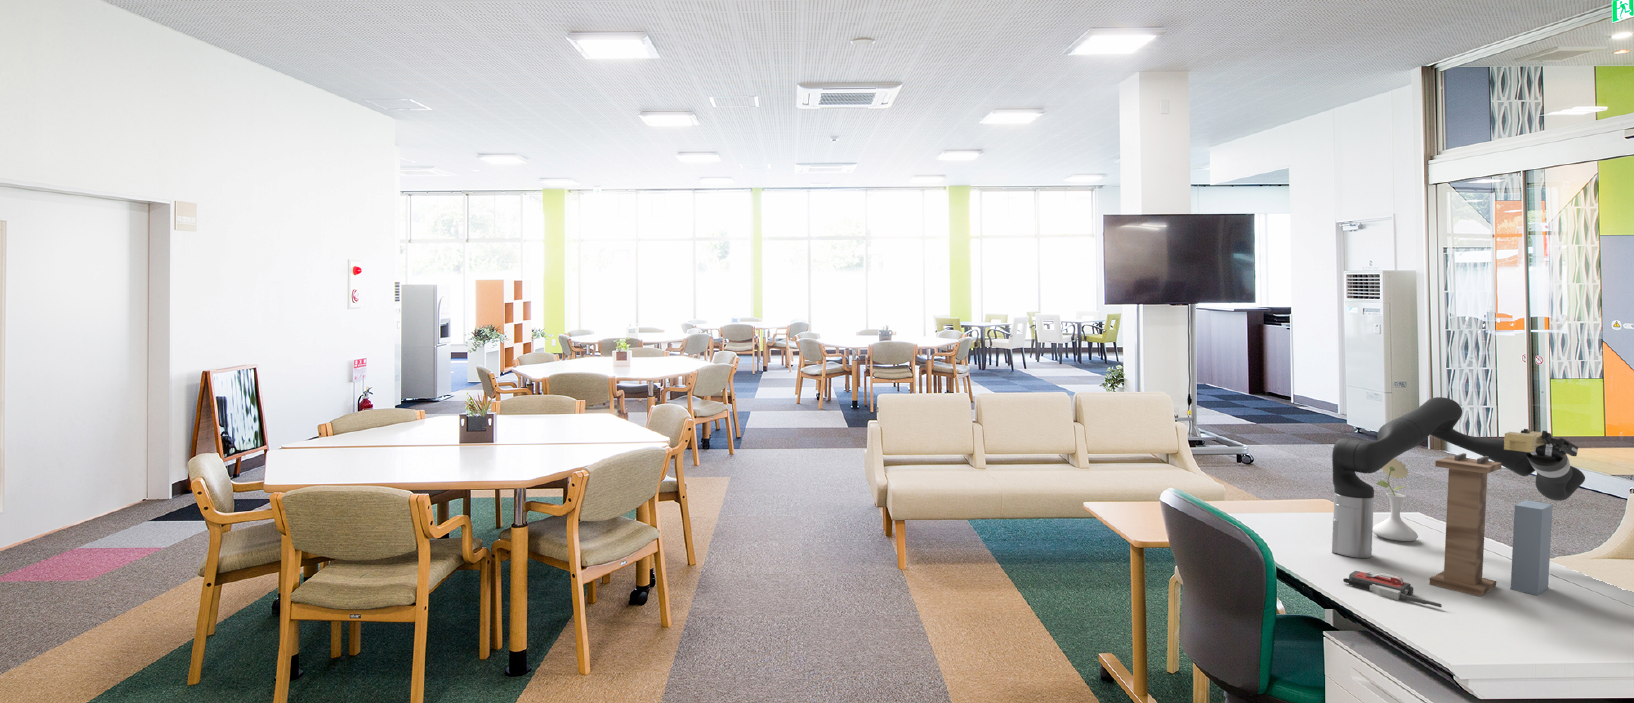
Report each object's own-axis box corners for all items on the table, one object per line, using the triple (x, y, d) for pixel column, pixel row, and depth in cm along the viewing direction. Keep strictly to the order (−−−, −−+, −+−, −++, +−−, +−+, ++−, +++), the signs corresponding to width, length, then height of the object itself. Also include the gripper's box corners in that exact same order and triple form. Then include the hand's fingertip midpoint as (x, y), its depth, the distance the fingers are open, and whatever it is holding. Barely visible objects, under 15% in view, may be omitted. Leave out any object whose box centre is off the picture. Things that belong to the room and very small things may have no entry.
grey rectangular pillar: (1537, 595, 179) (1542, 509, 178) (1510, 588, 183) (1514, 504, 182) (1548, 587, 184) (1552, 504, 183) (1521, 581, 188) (1525, 500, 187)
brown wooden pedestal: (1480, 596, 178) (1486, 462, 176) (1429, 583, 186) (1435, 456, 185) (1496, 586, 185) (1502, 457, 183) (1446, 574, 193) (1451, 451, 191)
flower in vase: (1427, 544, 219) (1431, 462, 217) (1389, 544, 219) (1393, 462, 218) (1394, 531, 232) (1397, 454, 230) (1358, 531, 232) (1361, 454, 231)
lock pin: (1531, 452, 178) (1532, 436, 177) (1503, 449, 182) (1504, 433, 182) (1553, 442, 189) (1553, 427, 188) (1526, 440, 193) (1527, 425, 193)
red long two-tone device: (1339, 587, 185) (1440, 612, 169) (1340, 570, 185) (1440, 594, 169) (1351, 579, 191) (1450, 603, 175) (1352, 563, 190) (1451, 585, 174)
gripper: (1515, 442, 203) (1500, 416, 194) (1587, 450, 191) (1575, 423, 182) (1510, 467, 201) (1495, 442, 192) (1583, 476, 190) (1570, 450, 181)
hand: (1534, 433), depth 187 cm, fingers closed on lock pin, 3 cm apart
